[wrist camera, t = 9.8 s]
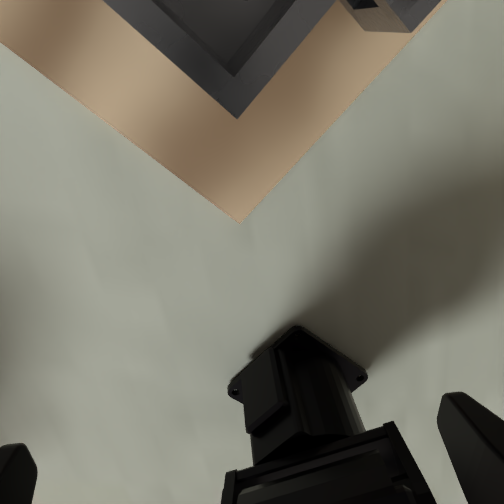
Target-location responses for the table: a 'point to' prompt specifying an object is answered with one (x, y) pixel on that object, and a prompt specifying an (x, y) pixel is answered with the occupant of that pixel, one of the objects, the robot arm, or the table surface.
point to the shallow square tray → (249, 36)
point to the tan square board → (201, 92)
